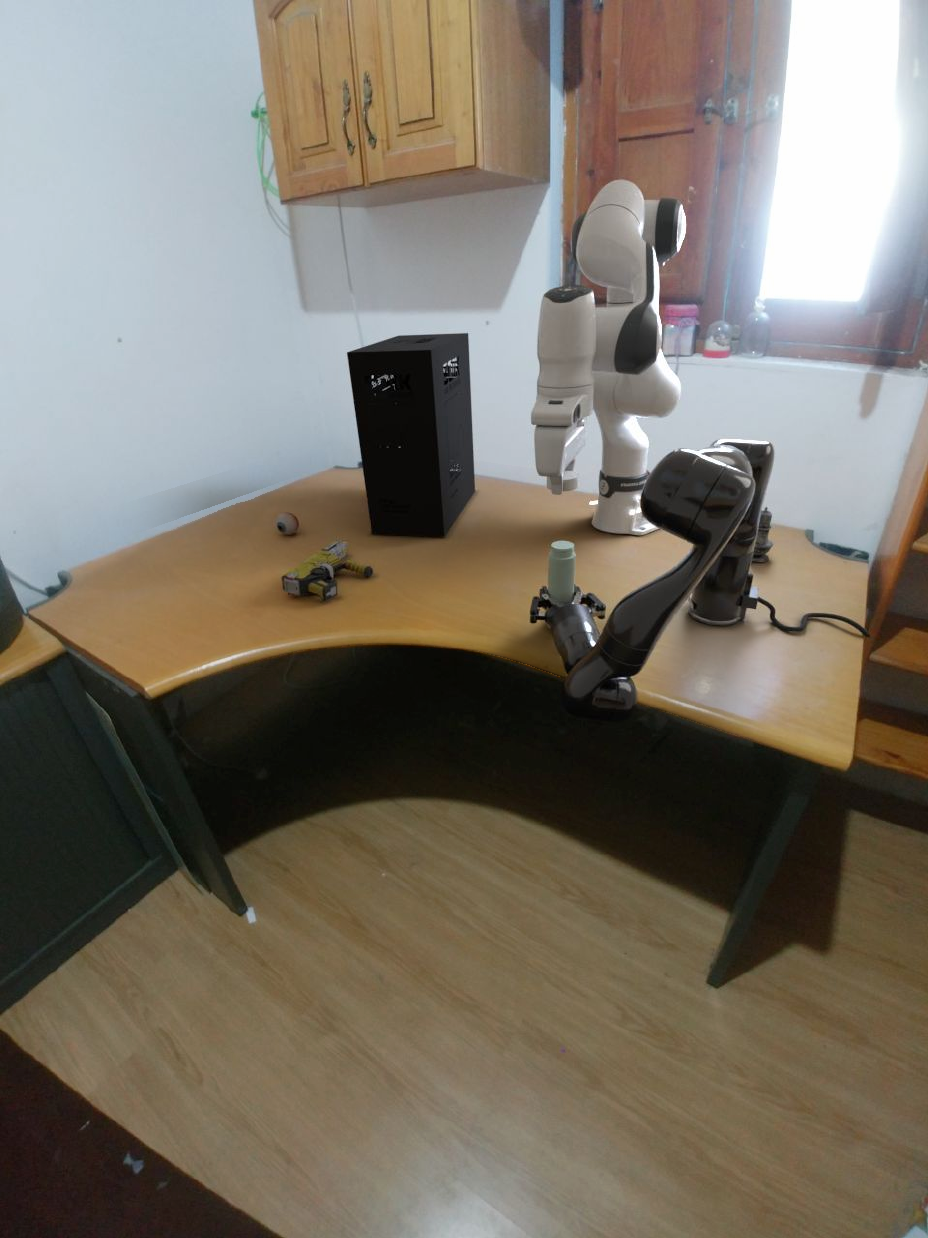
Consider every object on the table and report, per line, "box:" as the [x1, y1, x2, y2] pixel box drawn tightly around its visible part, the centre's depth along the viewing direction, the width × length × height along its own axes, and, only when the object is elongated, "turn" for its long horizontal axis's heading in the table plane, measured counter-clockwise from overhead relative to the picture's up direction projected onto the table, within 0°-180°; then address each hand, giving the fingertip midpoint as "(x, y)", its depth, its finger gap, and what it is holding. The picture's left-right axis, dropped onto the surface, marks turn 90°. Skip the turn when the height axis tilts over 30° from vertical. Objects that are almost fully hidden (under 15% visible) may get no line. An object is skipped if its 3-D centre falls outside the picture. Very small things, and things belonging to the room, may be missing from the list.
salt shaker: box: [752, 506, 774, 563], centre depth 134 cm, size 6×6×12 cm
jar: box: [546, 540, 577, 629], centre depth 112 cm, size 5×5×17 cm
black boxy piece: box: [346, 332, 476, 538], centre depth 164 cm, size 38×20×45 cm, turn 167°
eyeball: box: [275, 511, 300, 536], centre depth 163 cm, size 6×6×6 cm
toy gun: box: [281, 539, 374, 603], centre depth 138 cm, size 5×24×15 cm
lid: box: [546, 470, 580, 492], centre depth 102 cm, size 5×5×2 cm
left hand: (562, 487), depth 103 cm, fingers closed on lid, 5 cm apart
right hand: (558, 589), depth 115 cm, fingers closed on jar, 5 cm apart
